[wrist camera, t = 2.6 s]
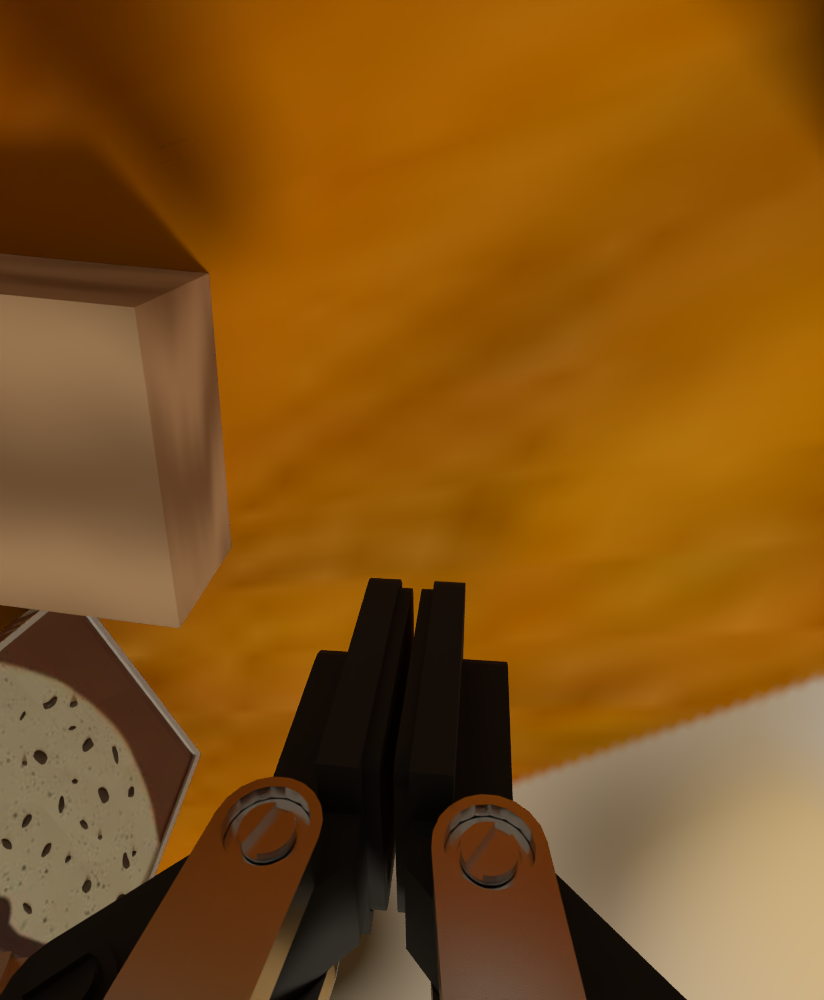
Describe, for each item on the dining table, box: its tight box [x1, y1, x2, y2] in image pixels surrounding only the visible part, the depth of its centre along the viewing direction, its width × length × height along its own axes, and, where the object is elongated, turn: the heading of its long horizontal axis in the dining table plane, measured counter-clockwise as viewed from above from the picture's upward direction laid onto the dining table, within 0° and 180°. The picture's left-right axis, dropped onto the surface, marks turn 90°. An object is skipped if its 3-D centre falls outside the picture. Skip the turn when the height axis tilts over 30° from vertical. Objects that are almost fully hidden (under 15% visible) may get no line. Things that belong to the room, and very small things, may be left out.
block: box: [0, 253, 231, 628], centre depth 18 cm, size 9×10×4 cm
